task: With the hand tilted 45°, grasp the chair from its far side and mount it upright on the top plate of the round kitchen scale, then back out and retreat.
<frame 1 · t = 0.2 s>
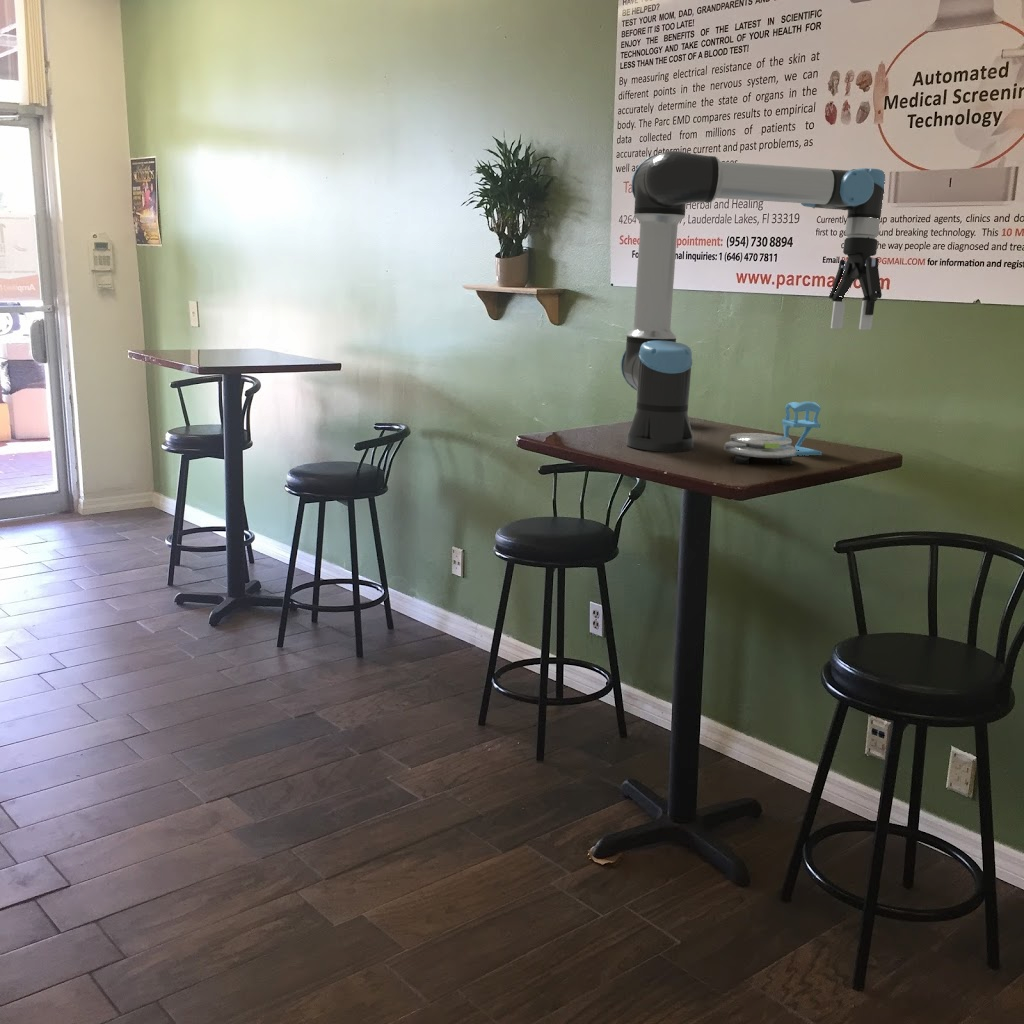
hand: (850, 329, 254), 27 cm above the table, tool pointing down, fingers open, 13 cm apart
chair: (798, 453, 242), on the table
round kitchen scale: (758, 460, 230), on the table
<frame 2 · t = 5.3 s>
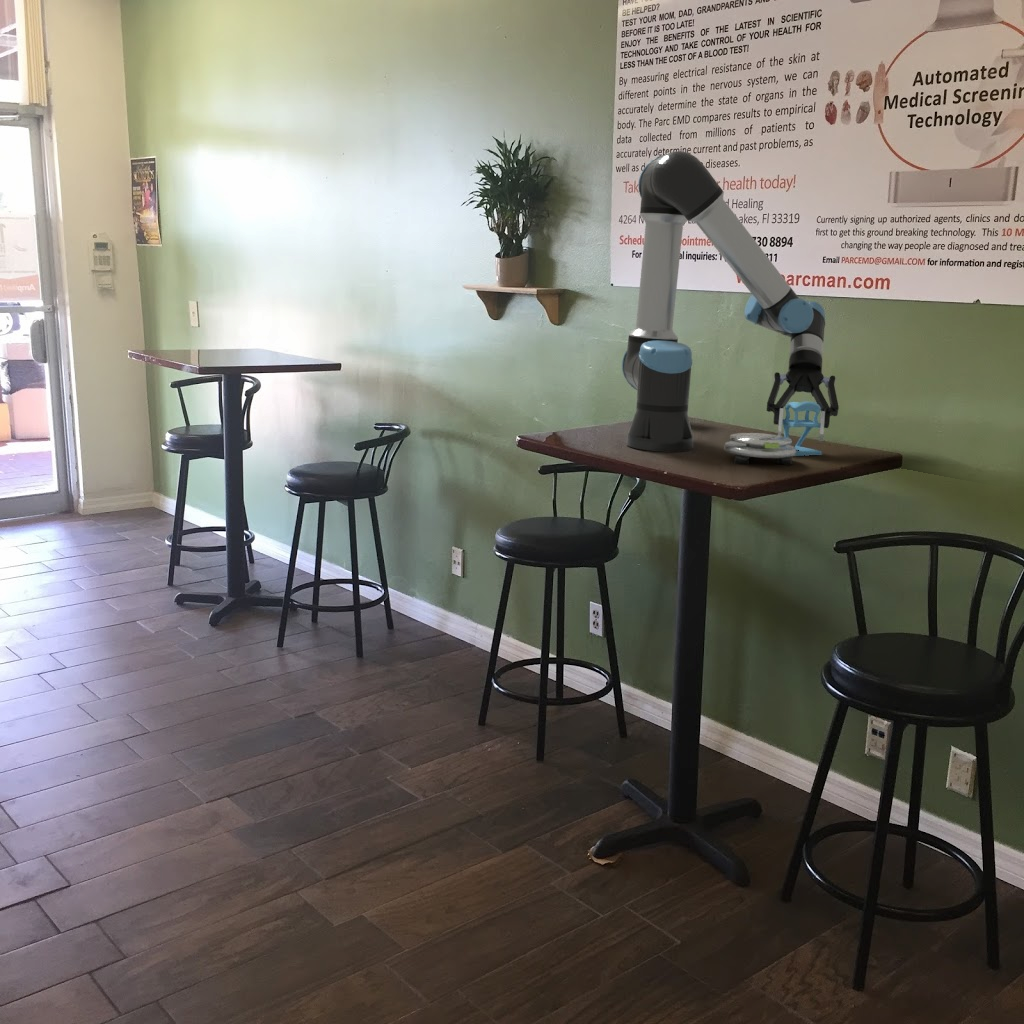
hand: (800, 436, 238), 4 cm above the table, tool tilted 45°, fingers closed on chair, 8 cm apart
chair: (798, 453, 242), on the table, touching gripper
everything else where it was.
when the fingers open (11 cm above the table, at t = 10.0 s): chair drops 1 cm, resting on round kitchen scale.
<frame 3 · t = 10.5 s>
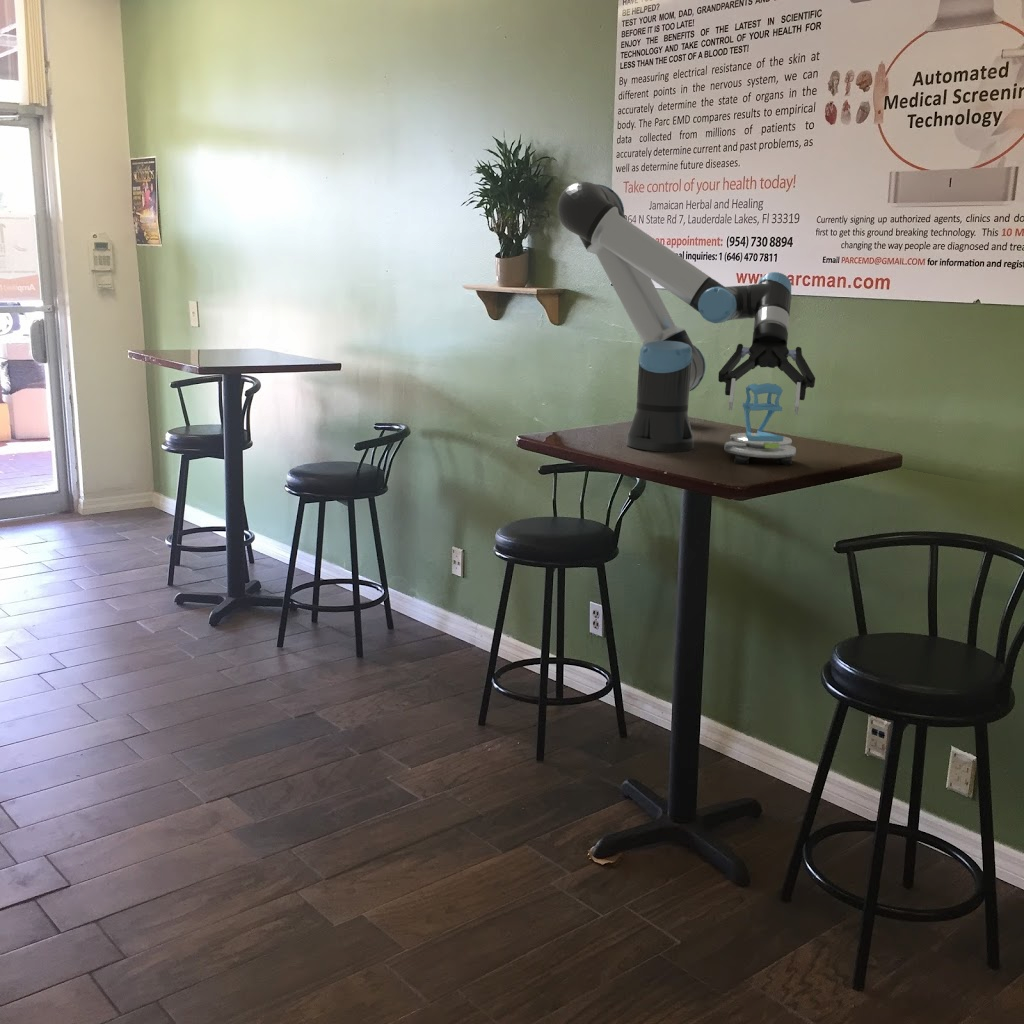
hand: (763, 408, 225), 12 cm above the table, tool tilted 45°, fingers open, 13 cm apart
chair: (759, 438, 229), point 5 cm above the table, touching round kitchen scale
everything else where it was.
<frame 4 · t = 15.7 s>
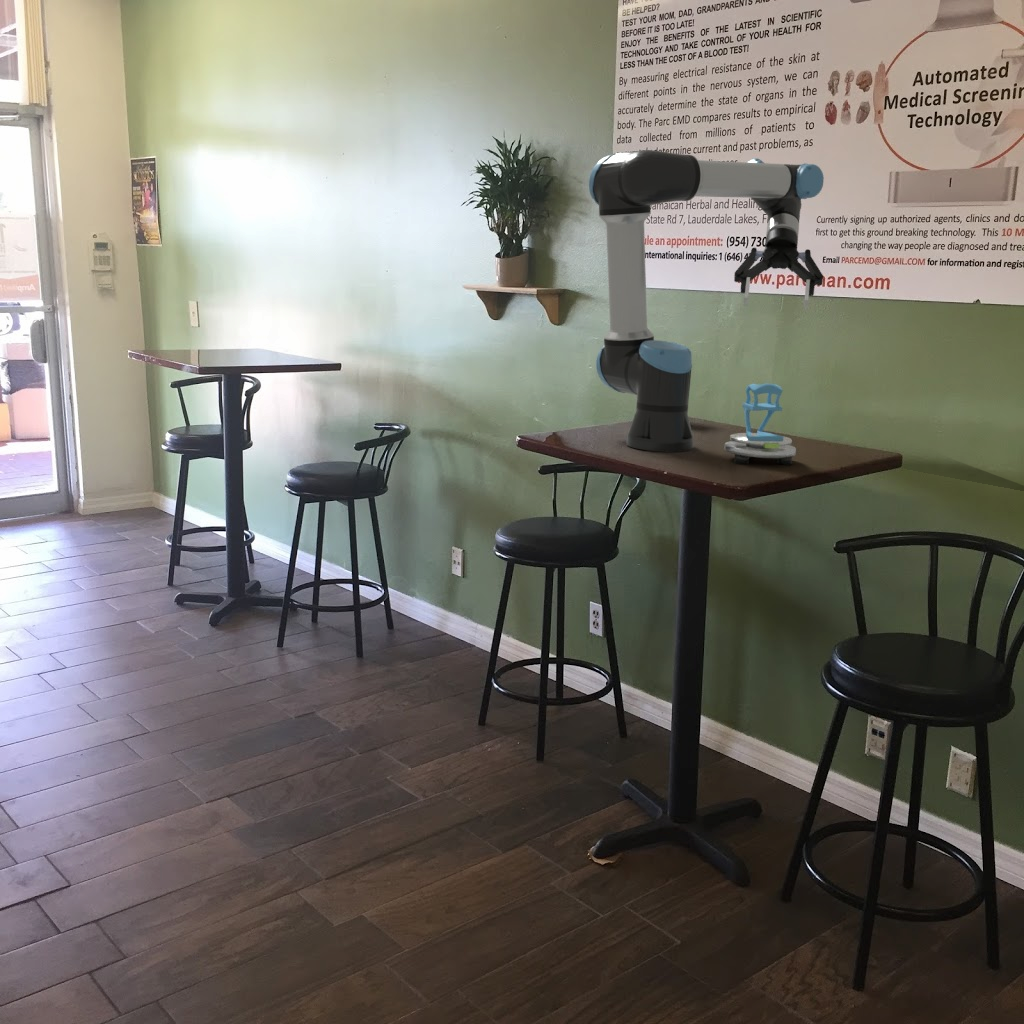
hand: (775, 303, 246), 33 cm above the table, tool tilted 45°, fingers open, 13 cm apart
nothing on the table moved.
at the end: chair 0.4 cm off-centre on the round kitchen scale, point 4.8 cm above the round kitchen scale's base; chair tilted 0°; the gripper is holding nothing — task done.
